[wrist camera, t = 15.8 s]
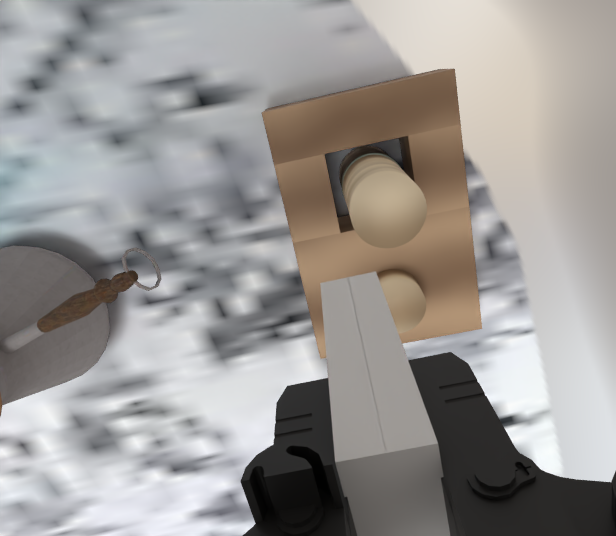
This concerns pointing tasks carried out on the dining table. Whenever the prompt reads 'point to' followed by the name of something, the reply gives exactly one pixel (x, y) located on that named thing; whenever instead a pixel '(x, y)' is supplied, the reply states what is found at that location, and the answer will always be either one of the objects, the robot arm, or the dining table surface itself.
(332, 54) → the dining table surface
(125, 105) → the dining table surface
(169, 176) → the dining table surface
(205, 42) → the dining table surface
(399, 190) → the beech dowel
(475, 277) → the wooden block with hole
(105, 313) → the coffee pot
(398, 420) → the robot arm
